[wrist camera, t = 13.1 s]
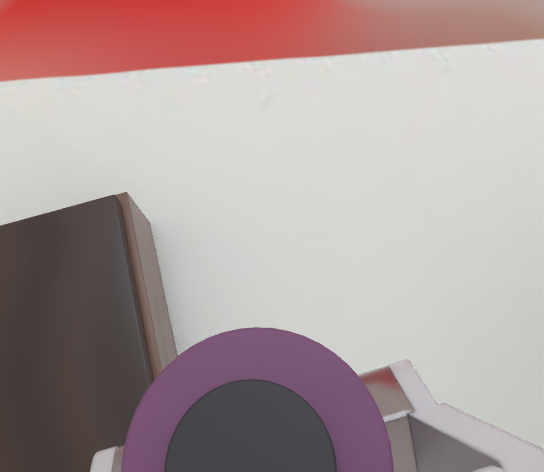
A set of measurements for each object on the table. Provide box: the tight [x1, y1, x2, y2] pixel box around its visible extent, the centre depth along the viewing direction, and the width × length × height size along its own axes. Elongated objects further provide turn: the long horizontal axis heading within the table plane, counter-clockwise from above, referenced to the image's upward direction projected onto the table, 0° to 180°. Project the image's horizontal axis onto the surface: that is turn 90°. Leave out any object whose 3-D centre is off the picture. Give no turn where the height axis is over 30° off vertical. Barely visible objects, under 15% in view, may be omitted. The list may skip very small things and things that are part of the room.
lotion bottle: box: [121, 327, 394, 472], centre depth 12 cm, size 5×5×10 cm
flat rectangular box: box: [0, 192, 178, 472], centre depth 30 cm, size 12×16×6 cm
